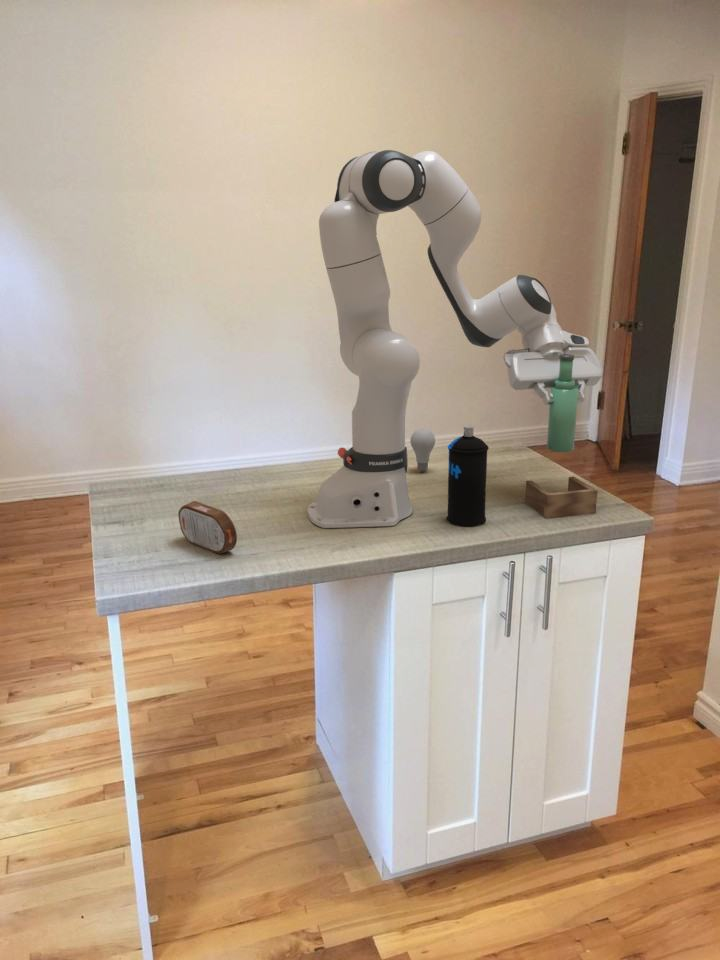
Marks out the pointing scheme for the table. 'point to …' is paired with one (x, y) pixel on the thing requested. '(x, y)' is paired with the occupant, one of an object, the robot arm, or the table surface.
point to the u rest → (562, 499)
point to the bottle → (563, 408)
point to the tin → (207, 527)
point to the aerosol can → (467, 480)
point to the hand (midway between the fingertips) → (565, 402)
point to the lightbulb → (422, 447)
